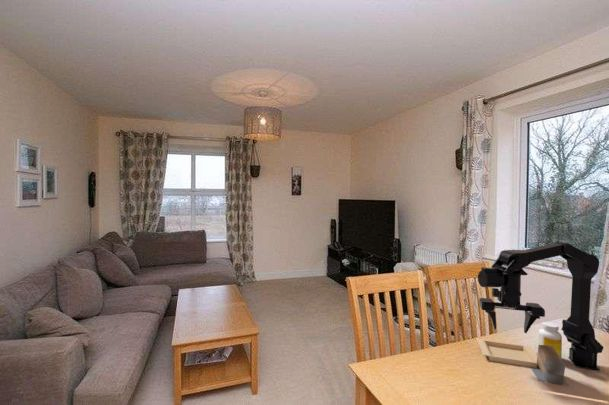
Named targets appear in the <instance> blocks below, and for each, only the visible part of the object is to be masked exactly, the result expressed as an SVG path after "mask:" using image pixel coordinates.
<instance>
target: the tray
mask: <svg viewBox="0 0 609 405" xmlns="http://www.w3.org/2000/svg"><path fill="white" fill-rule="evenodd" d="M476 342H477V343H478V346H479V348H480V351H481V352H482V355H483V356H485V357H488V360H489V361H490V362H497V363H502V364H510V365H517V366H522V367H529V368H530V367H531V368H538V364H537V355H538V353H536V351H535V350H534V349H533V348H532V346H531V345H525V344H524V345H522V344H515V343H508V342H500V341H496V340H495V341H493V340H487V339H486V340H485V339H481V338H476Z"/></svg>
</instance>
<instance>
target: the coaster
mask: <svg viewBox="0 0 609 405" xmlns="http://www.w3.org/2000/svg"><path fill="white" fill-rule="evenodd" d="M529 369H531V371H532V373H533V374H534V376H536V379H537V380H538V381H539V382H545V383H547V382H546V380H545V378H544V376H543V374H542V372H541V370H540V368H539V367H537V368H534V367H529ZM563 385H564V386H568V387H570V386H571V385H570V384H569V383H568V382H567V381H566V379H565V378H564V379H563ZM563 385H562V386H563Z"/></svg>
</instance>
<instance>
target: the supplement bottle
mask: <svg viewBox="0 0 609 405" xmlns="http://www.w3.org/2000/svg"><path fill="white" fill-rule="evenodd" d="M541 326H542V328H540V329H539V331H538V346H539V345H545V346H552V347H553V348H554V349H555V351H556V352H557V354H558V355H559V357H560V359H561V360H562V353H563V352H562V347H563V345H562V343H563V340H562V339H563V336H562V334H561V333H560V332H559V330H560V329H559V325H558V324H556V323H553V322H550V321H543V322H542V323H541Z"/></svg>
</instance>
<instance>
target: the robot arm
mask: <svg viewBox="0 0 609 405" xmlns="http://www.w3.org/2000/svg"><path fill="white" fill-rule="evenodd" d="M559 256H560V257H561V258H562V259H563V260H565V261H566V265H567V269H568V271H569V273H570V274H571V276H572V280H571V282H572V283H571V299H570V300H571V301H570V315H569V317H568V318H567V319H562V321H561V322H562V327H561V329H560V330H561V331H562V334H563V335H564V337H565V338H566V341H567V342H569V343H570V344H571V345H570V347H569V350H568V353H569V354H568V355H569V356H568V359H569V360H570V362H571V363H572V364H573V365H574V366H576V367H577V368H583V369H591V370H596V371H600V370H601V369H600V367H599V366H598V354H602V353H603V350H604V346H603V345H602V344H601V343H600V341H598V340H597V339H596V333H595V329H594V326H593V325H592V323H591V322H590V312H591V310H590V308H591V294H592V293H591V292H592V291H591V289H592V287H591V286H592V279H593V278H594V277H595V276H596V275H597V274H598V271H599V266H600V259H599V258H598V257H597V256H596V255H595V254H592V253H588V252H587V251H584V250H581V249H579V248H577V247H575V246H574V245H572V244H571V243H568V242H563V241H555V242H553V243H549V244H545V245H541V246H537V247H532V248H528V249H527V248H526V249H505V250H502V251H501V252H500V254H499V256H498V257H497V259H496V260H495V261H494V263H493V264H491V267H487V266H486V267H485V266H483V267H481V270H480V271H479V272H478V275H477V282H478V284H479V286H480V287H481V288H491V297H492V298H497V301H498V302H495V301H494V300H493V299H492V298H485V297H480V298H479V300H478V306H479V308H480V309H481V311H482V310H483V311H484V312H485V313H487V314H489V318H490V321H491V323H492V326H493V329H494V330H497V315H496V313H497V312H496V311H495V309H502V310H503V309H504V310H511V311H512V310H513V311H521V312H524V324H523V333H524V334H527V333H528V332H529V330H530V328H531V326H532V325H533V324H534V323H535V322H536V320H538V319H539V320H540V319H541V317H543V318H545V317H546V311H545V308H544V307H543V306H542V305H540V304H539V303H535V302H526V303H525V304H522V303H521V297H522V292H521V289H522V287H521V286H522V276H528V275H529V274H528V273H527V272H526V271H525V270H524V268H526V267H528V266H530V264H531V263H534V262H538V261H542V260H547V259H550V258H555V257H559ZM499 288H500V290H499Z"/></svg>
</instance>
